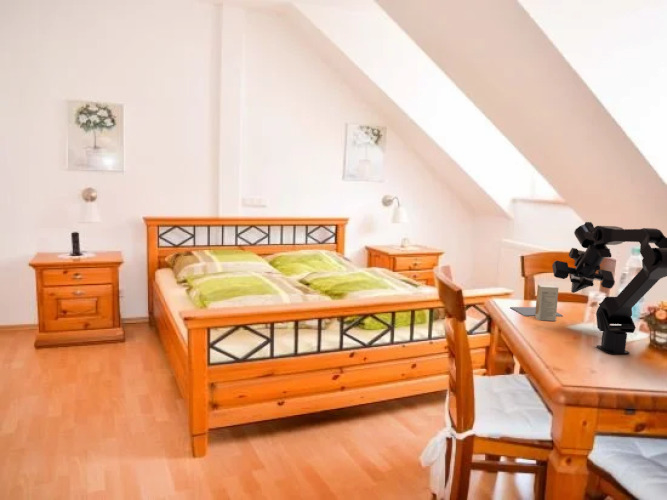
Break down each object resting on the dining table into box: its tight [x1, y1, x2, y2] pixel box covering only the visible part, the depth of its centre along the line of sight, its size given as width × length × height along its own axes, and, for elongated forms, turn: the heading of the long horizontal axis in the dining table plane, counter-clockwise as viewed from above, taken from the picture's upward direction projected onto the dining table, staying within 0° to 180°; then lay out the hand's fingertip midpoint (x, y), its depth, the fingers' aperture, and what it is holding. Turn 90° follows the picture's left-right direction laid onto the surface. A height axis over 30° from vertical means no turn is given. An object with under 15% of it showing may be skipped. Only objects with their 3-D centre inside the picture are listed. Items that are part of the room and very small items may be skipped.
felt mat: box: [509, 306, 564, 317], centre depth 198 cm, size 11×15×1 cm
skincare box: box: [534, 283, 559, 322], centre depth 188 cm, size 6×4×12 cm
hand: (572, 291), depth 179 cm, fingers closed
